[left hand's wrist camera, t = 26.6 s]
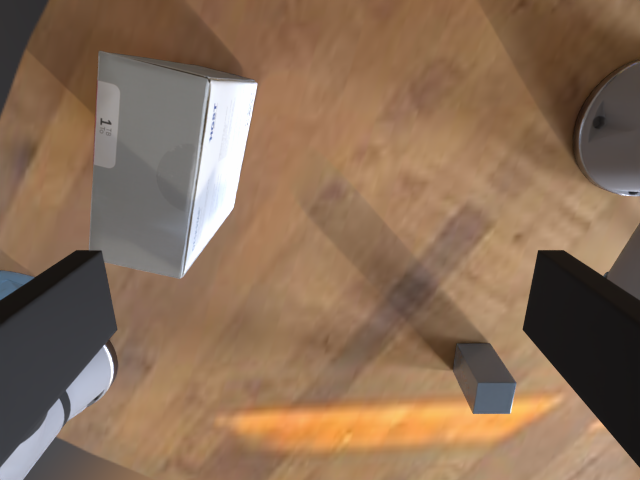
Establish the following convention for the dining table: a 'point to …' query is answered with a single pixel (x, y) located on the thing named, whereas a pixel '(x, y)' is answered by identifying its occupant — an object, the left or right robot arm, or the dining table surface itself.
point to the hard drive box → (164, 159)
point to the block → (483, 379)
